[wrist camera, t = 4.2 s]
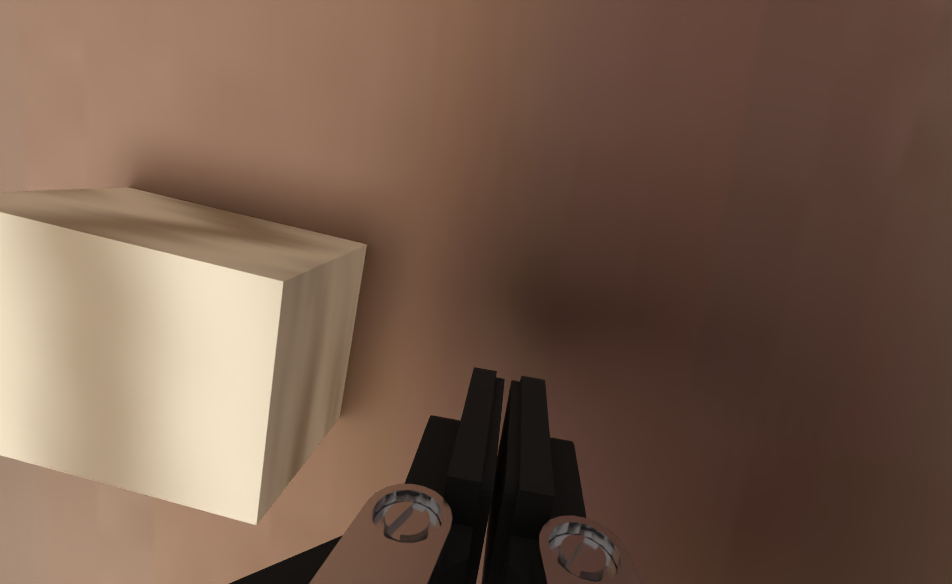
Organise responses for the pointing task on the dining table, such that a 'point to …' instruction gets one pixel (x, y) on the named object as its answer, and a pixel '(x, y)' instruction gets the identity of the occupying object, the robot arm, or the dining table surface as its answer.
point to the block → (170, 344)
